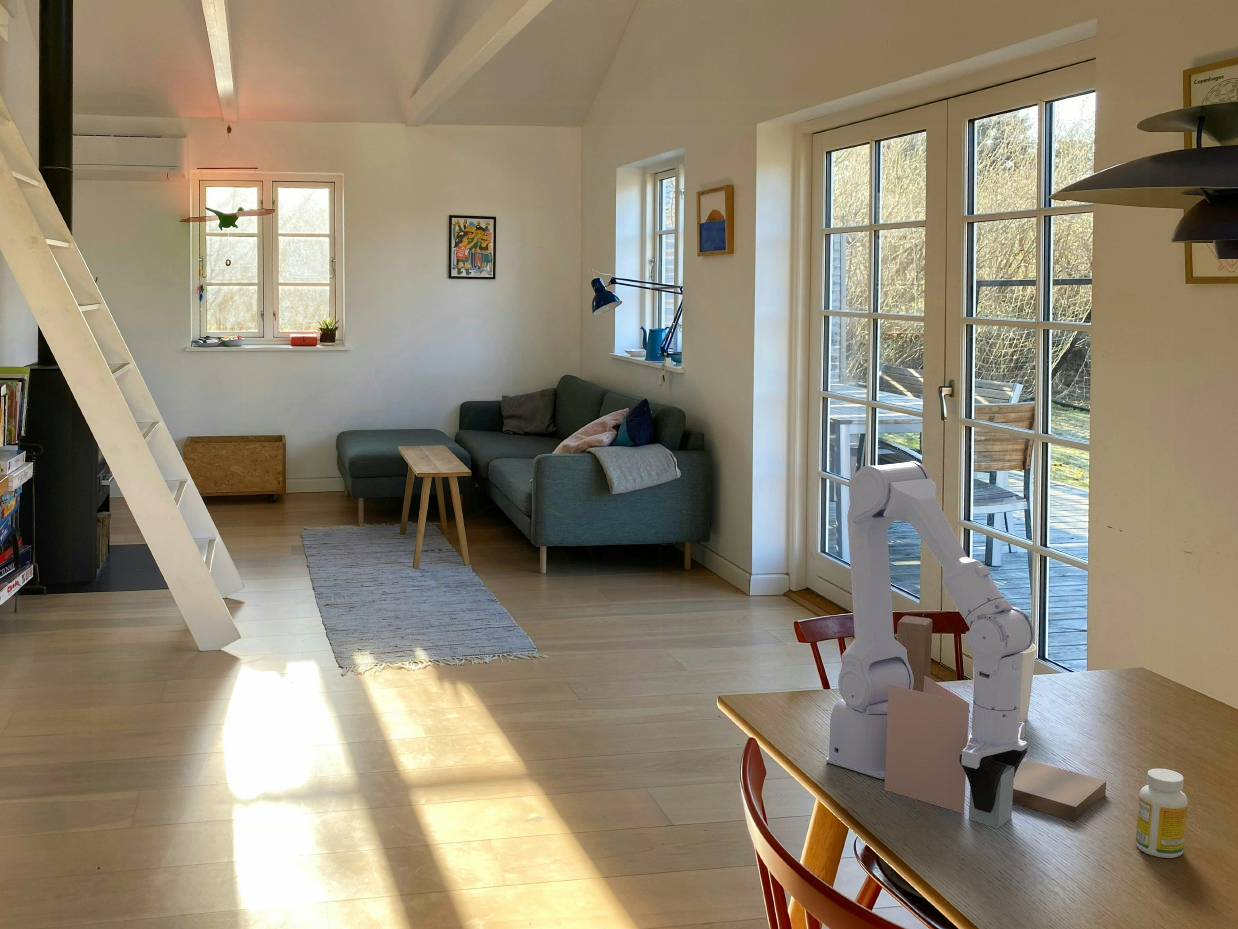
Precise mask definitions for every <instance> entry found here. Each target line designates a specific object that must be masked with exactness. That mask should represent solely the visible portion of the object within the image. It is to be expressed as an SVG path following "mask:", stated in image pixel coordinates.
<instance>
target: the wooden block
mask: <svg viewBox="0 0 1238 929" xmlns="http://www.w3.org/2000/svg"><path fill="white" fill-rule="evenodd" d="M933 625H934V624H933V619H932V618H929V617H922V616H921V617H919V616H913V615H904V616H902V618H901V619H900V620H899V621H898V622H897V633H896V641H898V642H899V643H900V644H901V645H902V646H904V647H905V648H906V650H907V659H908V663H909V665H910V668H911V670H912V673H913V678H914V684H913V688H912V690H916V691H920V692H924V676H926V677H928V678H929V679H931V664H932V644H933V643H932V642H933V640H932V639H933Z"/></svg>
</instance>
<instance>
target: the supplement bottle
mask: <svg viewBox="0 0 1238 929" xmlns="http://www.w3.org/2000/svg"><path fill="white" fill-rule="evenodd" d="M1146 774H1147V776H1146V783H1147V784H1146V785H1144V786H1143V787H1142V788H1141V789H1140V790H1139V796H1138V807H1137V819H1136V830H1135V844H1136V847H1137V848H1138V850H1140V851H1141V852H1143V853H1145V854H1147V855H1149V856H1153V857H1156V858H1164V859H1165V858H1166V859H1174V858H1176V859H1177V858H1178V857H1180V856H1182V855H1183V853H1184V847H1185V839H1186V838H1185V837H1186V825H1187V817H1188V816H1187V814H1188V804H1189V803H1188V802H1189V800H1188V797H1187V795H1186V794H1185V793H1184V792H1183V788H1184V779H1185V778H1184V776H1183V775H1182V774H1181V773H1179V772H1177V771H1175V770H1171V769H1167V768H1151V769H1149V770H1148V771H1147V773H1146Z"/></svg>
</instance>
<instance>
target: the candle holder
mask: <svg viewBox="0 0 1238 929" xmlns="http://www.w3.org/2000/svg"><path fill="white" fill-rule="evenodd" d="M1021 653H1023V664H1022V681H1021V698H1020V714H1019V722H1022V723H1026V721H1027V719H1028V717H1029V712H1030V711H1029V710H1030V703H1031V702H1030V701H1031V695H1032V688H1033V687H1032V685H1033V679H1034V678H1033V677H1034V671H1035V670H1034V669H1035V662H1036V661H1035V660H1036V654H1037V645H1035V644H1034V643H1033V642H1032V645H1031V646H1030V647H1029V648H1028V649H1027V650H1026V651H1023V652H1021ZM1018 654H1020V653H1018ZM974 676H975V668H974V665H973V664H972V696H973V695H974Z"/></svg>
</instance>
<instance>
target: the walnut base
mask: <svg viewBox="0 0 1238 929" xmlns="http://www.w3.org/2000/svg"><path fill="white" fill-rule="evenodd" d="M1106 791H1107V781H1106V780H1103V779H1099V778H1096V777H1092V776H1089V775H1085V774H1081V773H1078V772H1074V771H1071V770H1067V769H1065V768H1064V769H1063V768H1060V767H1058V766H1057V767H1056V766H1053V765H1049V764H1045V763H1041V762H1038V761H1035V760H1030V759H1026V760H1024V761H1023V762H1021V763H1020V765H1019V767H1018V769H1017V771H1016V774H1015V777H1014V782H1013V800H1012V804H1015V805H1018V806H1022V807H1025V808H1028V809H1032V810H1034V811H1039V812H1042V813H1045V814H1049V815H1051V816H1055V817H1059V818H1062V819H1065V820H1068V821H1072V822H1076V821H1077V820H1079V819H1080V818H1081V817H1082V816H1083V815H1084V814H1085V813H1086V812H1088V811H1089V810H1090V809H1092V807H1094V806H1095V805H1096V804H1097V803H1098V802H1099V801H1101V800H1102V799H1103V798H1104V797H1105V796H1106V793H1107V792H1106Z"/></svg>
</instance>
